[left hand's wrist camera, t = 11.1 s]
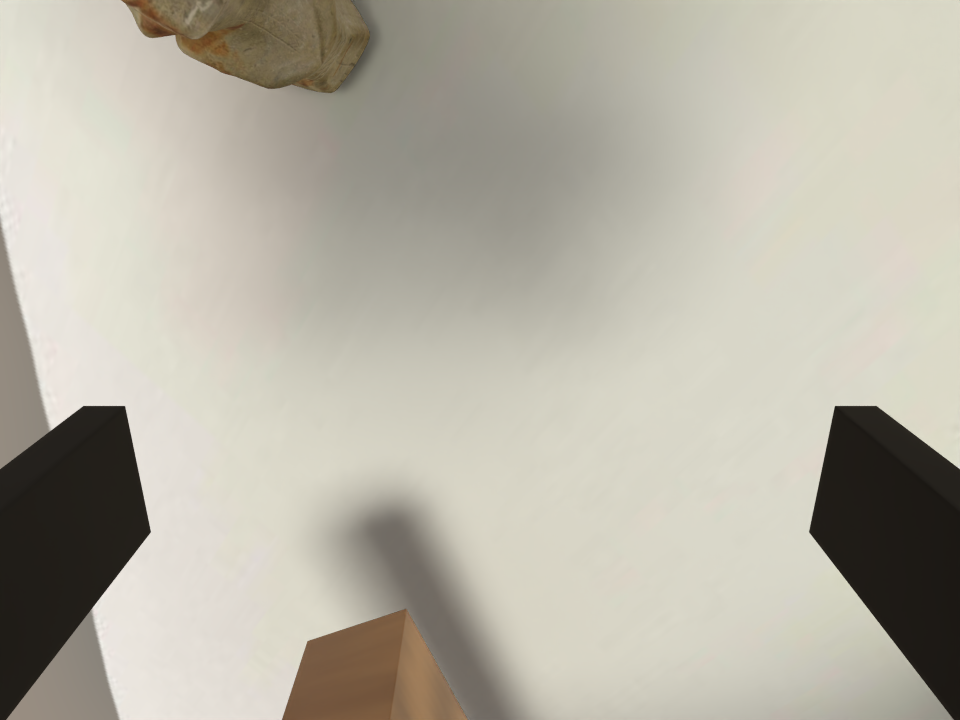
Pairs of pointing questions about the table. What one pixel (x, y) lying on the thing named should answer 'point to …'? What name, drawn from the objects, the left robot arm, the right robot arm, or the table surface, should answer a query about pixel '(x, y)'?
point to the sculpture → (263, 37)
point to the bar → (371, 676)
